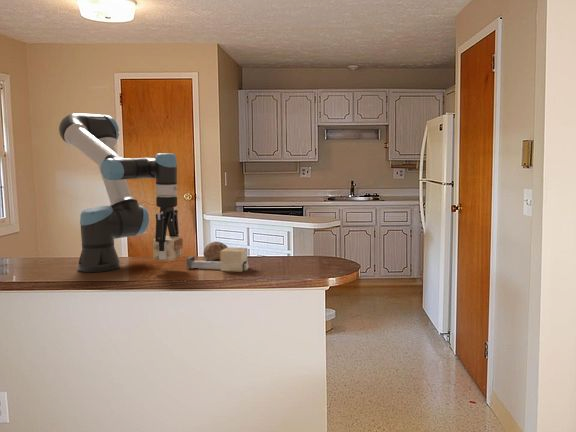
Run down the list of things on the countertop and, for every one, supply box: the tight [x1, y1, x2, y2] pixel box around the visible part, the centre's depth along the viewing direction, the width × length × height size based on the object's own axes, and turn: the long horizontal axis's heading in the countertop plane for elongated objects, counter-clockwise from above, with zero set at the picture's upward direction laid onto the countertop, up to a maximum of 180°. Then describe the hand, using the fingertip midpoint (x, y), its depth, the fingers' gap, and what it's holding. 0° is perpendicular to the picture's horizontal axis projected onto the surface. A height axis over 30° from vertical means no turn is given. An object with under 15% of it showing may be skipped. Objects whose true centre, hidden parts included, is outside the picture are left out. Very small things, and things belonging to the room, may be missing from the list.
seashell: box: [202, 241, 228, 261], centre depth 213 cm, size 10×9×10 cm
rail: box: [186, 246, 249, 273], centre depth 196 cm, size 23×7×8 cm, turn 78°
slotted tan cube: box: [152, 235, 184, 262], centre depth 192 cm, size 9×7×8 cm
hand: (167, 256), depth 193 cm, fingers closed on slotted tan cube, 7 cm apart
